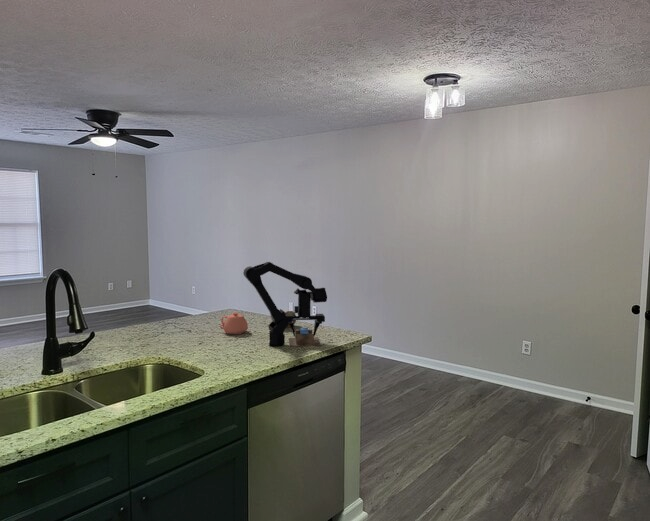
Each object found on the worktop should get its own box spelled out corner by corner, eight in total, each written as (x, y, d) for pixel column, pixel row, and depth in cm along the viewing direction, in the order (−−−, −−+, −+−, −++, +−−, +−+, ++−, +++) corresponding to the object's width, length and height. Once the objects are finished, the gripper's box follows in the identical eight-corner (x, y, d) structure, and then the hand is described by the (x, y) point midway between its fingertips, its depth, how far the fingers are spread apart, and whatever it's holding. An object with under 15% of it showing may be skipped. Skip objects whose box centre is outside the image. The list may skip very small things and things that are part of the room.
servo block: (301, 344, 211) (301, 331, 210) (300, 339, 220) (300, 326, 219) (308, 343, 211) (308, 331, 211) (307, 338, 220) (307, 326, 220)
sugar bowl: (245, 336, 227) (245, 315, 226) (217, 335, 228) (216, 315, 227) (250, 330, 239) (249, 310, 238) (223, 329, 240) (222, 310, 239)
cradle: (289, 347, 208) (289, 336, 207) (288, 339, 222) (288, 328, 221) (320, 346, 210) (320, 335, 209) (317, 338, 223) (317, 328, 223)
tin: (277, 330, 238) (277, 314, 238) (273, 329, 240) (273, 313, 240) (296, 325, 250) (296, 310, 250) (292, 324, 252) (292, 309, 252)
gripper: (322, 299, 223) (322, 331, 224) (283, 300, 221) (283, 332, 222) (325, 304, 212) (324, 337, 213) (284, 304, 210) (284, 338, 211)
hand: (304, 336), depth 215 cm, fingers open, 9 cm apart
